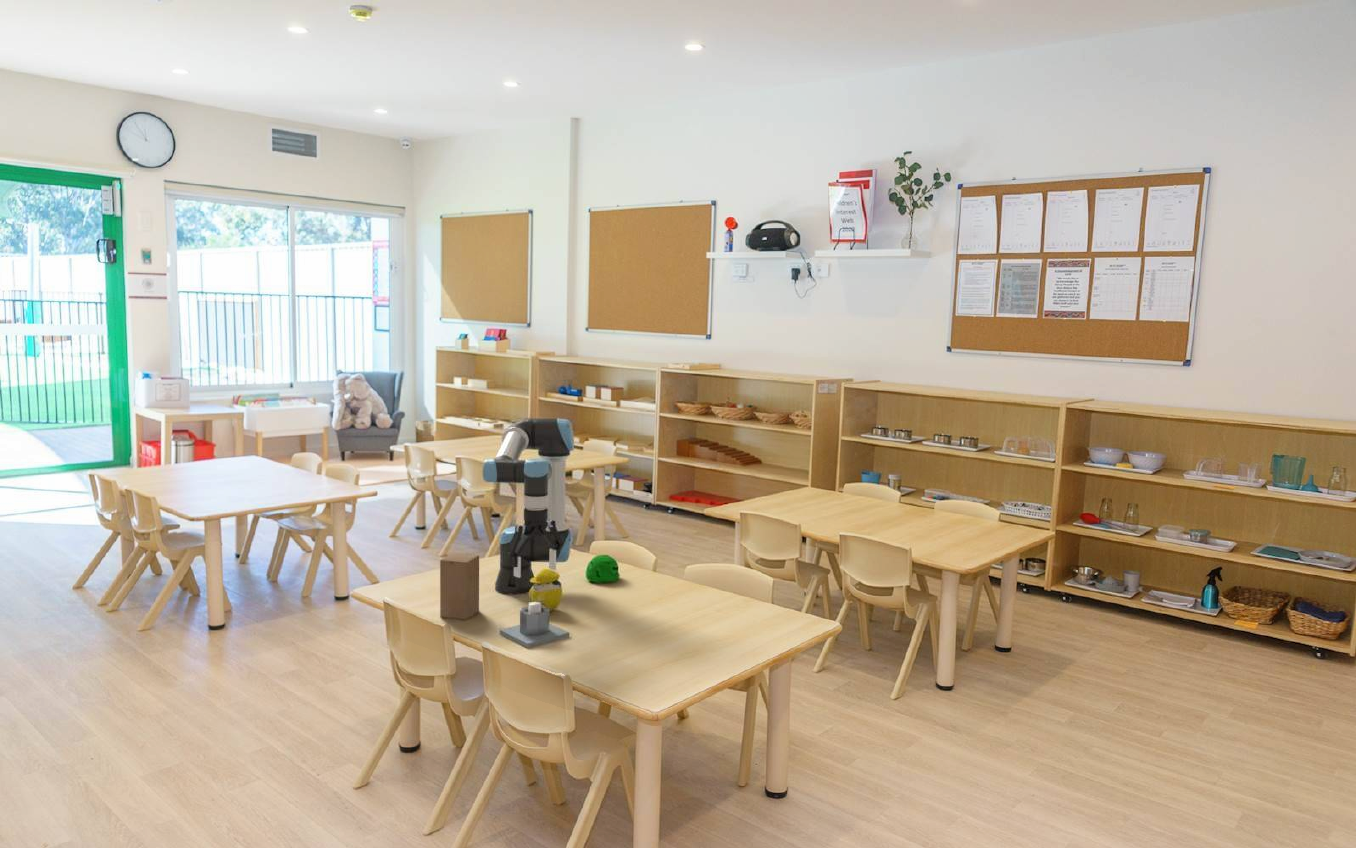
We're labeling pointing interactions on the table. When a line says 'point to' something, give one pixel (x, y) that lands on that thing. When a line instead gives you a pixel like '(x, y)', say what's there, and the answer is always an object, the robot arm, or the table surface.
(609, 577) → the toy
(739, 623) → the table surface
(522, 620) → the collar ring
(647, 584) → the table surface
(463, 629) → the table surface
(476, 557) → the wooden block
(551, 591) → the toy
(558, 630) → the piston post
